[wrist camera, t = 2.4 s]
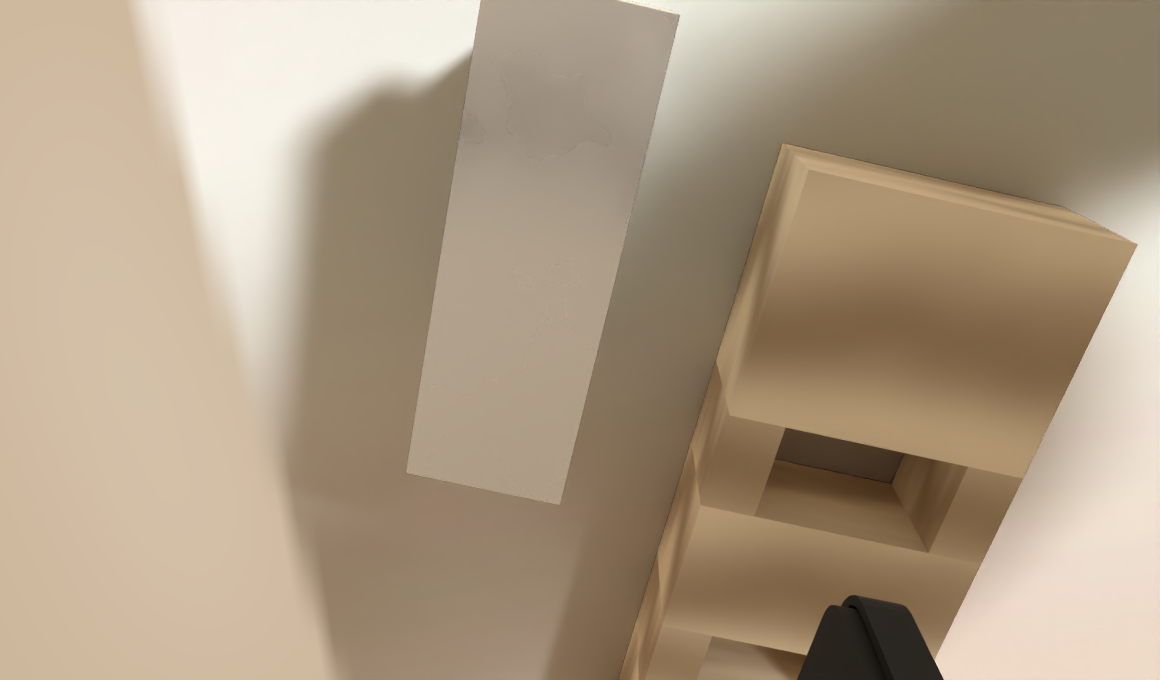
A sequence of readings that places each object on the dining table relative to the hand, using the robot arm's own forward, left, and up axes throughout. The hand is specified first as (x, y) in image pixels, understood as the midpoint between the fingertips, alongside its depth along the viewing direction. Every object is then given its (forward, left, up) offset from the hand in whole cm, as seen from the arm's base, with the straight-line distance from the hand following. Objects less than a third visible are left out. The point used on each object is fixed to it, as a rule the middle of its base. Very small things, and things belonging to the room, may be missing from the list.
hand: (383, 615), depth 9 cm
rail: (+10, +11, -19) cm, 24 cm away
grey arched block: (0, 0, -19) cm, 19 cm away
